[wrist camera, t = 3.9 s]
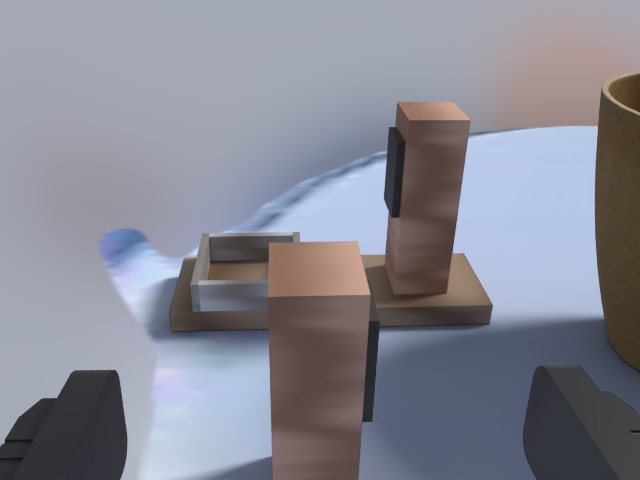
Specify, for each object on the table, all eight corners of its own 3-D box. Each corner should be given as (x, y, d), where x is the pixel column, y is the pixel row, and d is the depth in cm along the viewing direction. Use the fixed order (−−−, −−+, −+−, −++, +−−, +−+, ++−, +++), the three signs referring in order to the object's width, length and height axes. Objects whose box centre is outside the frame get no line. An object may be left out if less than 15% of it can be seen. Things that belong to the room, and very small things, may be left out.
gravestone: (461, 270, 46) (486, 96, 40) (489, 323, 40) (524, 127, 34) (185, 275, 45) (167, 95, 39) (171, 331, 39) (146, 128, 33)
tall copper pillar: (356, 451, 30) (369, 241, 25) (366, 521, 27) (384, 294, 21) (274, 454, 30) (269, 242, 24) (274, 525, 26) (267, 296, 21)
